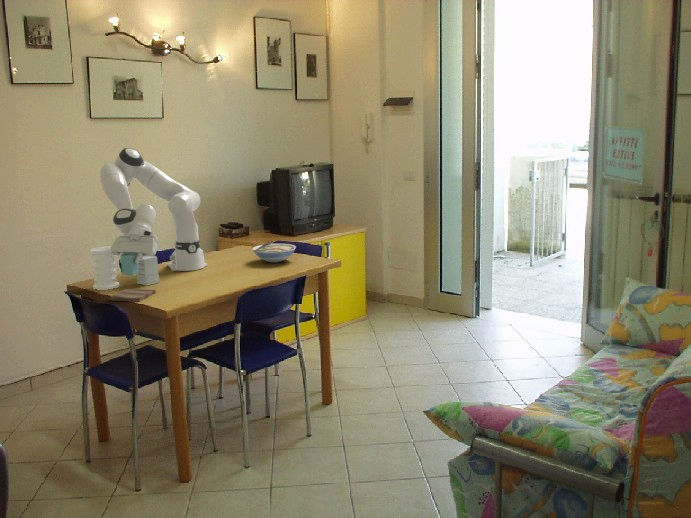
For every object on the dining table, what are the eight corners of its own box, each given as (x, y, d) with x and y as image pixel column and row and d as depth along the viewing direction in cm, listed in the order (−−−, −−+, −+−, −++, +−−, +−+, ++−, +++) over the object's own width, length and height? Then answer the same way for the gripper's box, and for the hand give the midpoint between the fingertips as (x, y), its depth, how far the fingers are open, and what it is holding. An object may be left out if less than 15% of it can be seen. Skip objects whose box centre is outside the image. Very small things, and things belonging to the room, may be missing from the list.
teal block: (128, 272, 303) (126, 254, 301) (138, 272, 302) (137, 254, 300) (122, 274, 298) (120, 256, 296) (132, 275, 297) (131, 257, 295)
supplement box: (150, 280, 330) (148, 254, 328) (159, 282, 326) (157, 256, 323) (136, 283, 325) (134, 257, 322) (146, 285, 320) (143, 259, 317)
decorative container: (121, 283, 326) (117, 245, 322) (117, 289, 315) (113, 250, 311) (95, 284, 325) (91, 246, 321) (90, 290, 313) (86, 251, 310)
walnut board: (126, 291, 310) (126, 288, 310) (155, 293, 307) (155, 289, 307) (109, 300, 297) (109, 296, 296) (139, 301, 294) (139, 298, 293)
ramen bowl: (287, 267, 351) (286, 251, 349) (245, 265, 357) (244, 250, 355) (303, 257, 375) (302, 242, 373) (263, 255, 380) (262, 241, 379)
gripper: (113, 231, 305) (103, 258, 298) (156, 232, 300) (146, 259, 293) (120, 239, 310) (110, 266, 303) (162, 241, 306) (152, 267, 298)
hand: (128, 263), depth 298 cm, fingers closed on teal block, 5 cm apart
